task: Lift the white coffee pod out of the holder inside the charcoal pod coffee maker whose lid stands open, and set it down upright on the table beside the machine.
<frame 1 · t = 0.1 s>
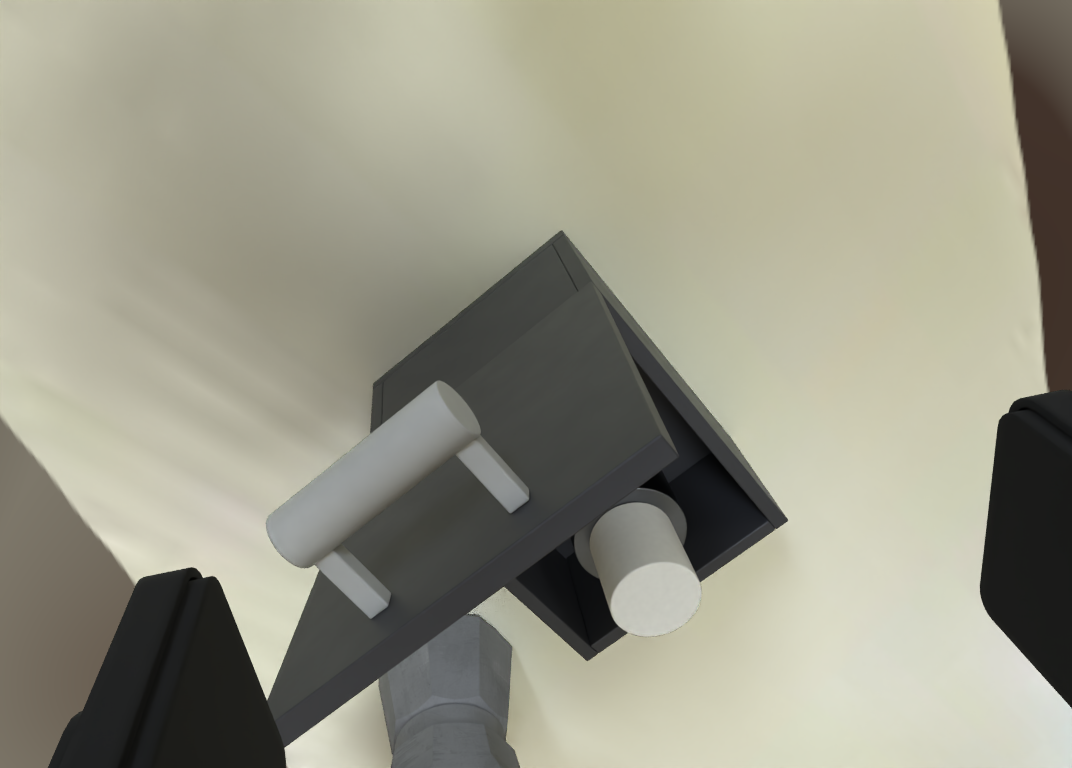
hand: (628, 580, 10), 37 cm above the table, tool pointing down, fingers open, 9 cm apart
lid: (432, 420, 30), point 18 cm above the table, hinge at 100.0°
coffee pod: (631, 537, 45), point 9 cm above the table, touching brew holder
coffeepot: (437, 672, 59), on the table
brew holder: (595, 450, 53), resting on coffee maker
coffee maker: (561, 412, 51), on the table
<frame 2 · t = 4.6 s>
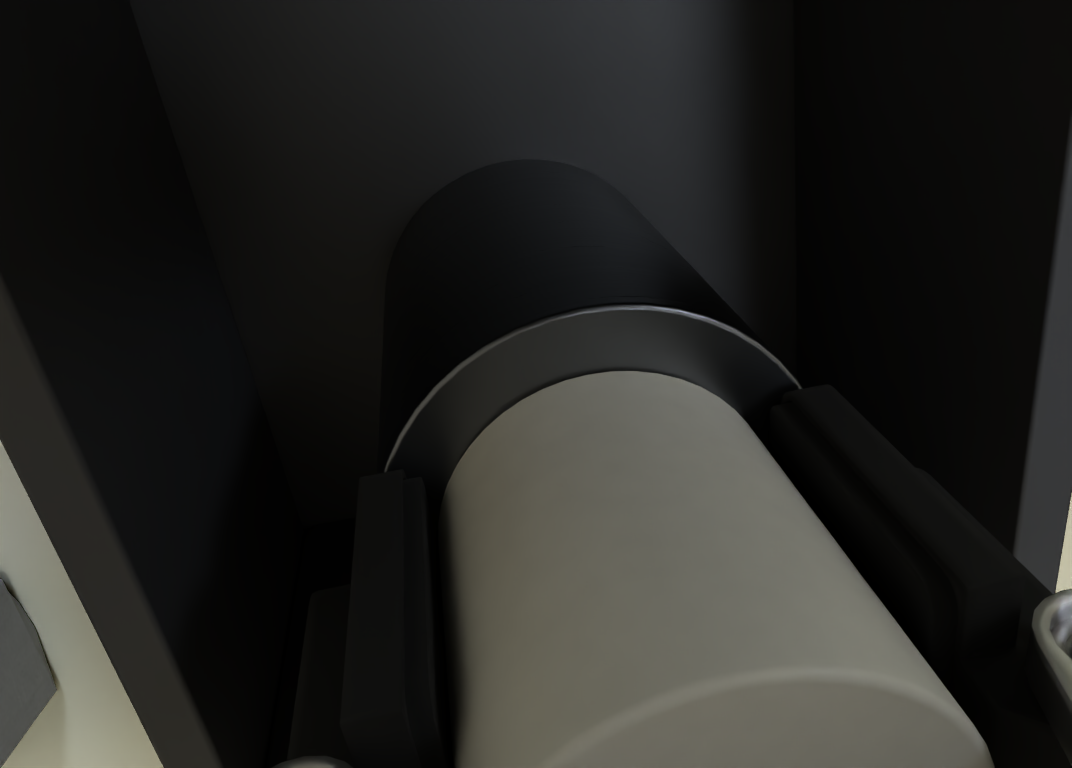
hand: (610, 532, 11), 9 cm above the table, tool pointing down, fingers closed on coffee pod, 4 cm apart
coffee pod: (607, 520, 11), point 9 cm above the table, touching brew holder, gripper
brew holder: (522, 288, 19), resting on coffee maker
coffee maker: (495, 130, 18), on the table
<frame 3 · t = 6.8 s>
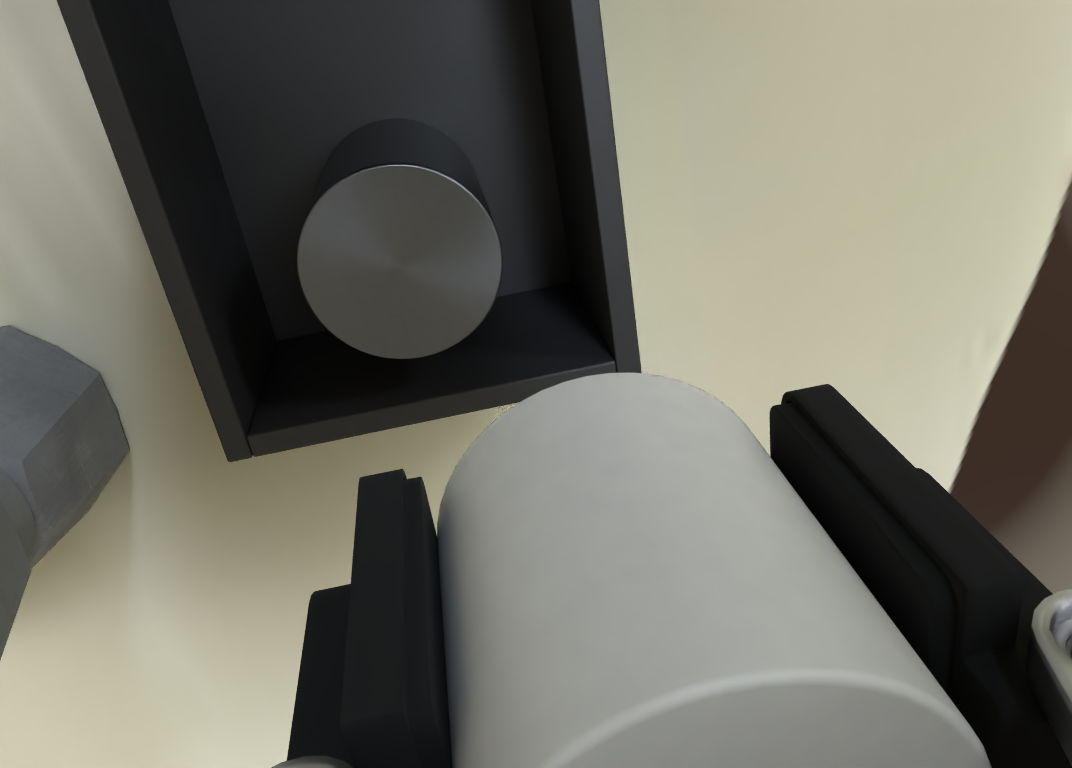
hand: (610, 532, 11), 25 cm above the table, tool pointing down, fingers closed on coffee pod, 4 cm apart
coffee pod: (605, 521, 11), point 25 cm above the table, touching gripper
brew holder: (400, 195, 34), resting on coffee maker
coffee maker: (379, 103, 32), on the table
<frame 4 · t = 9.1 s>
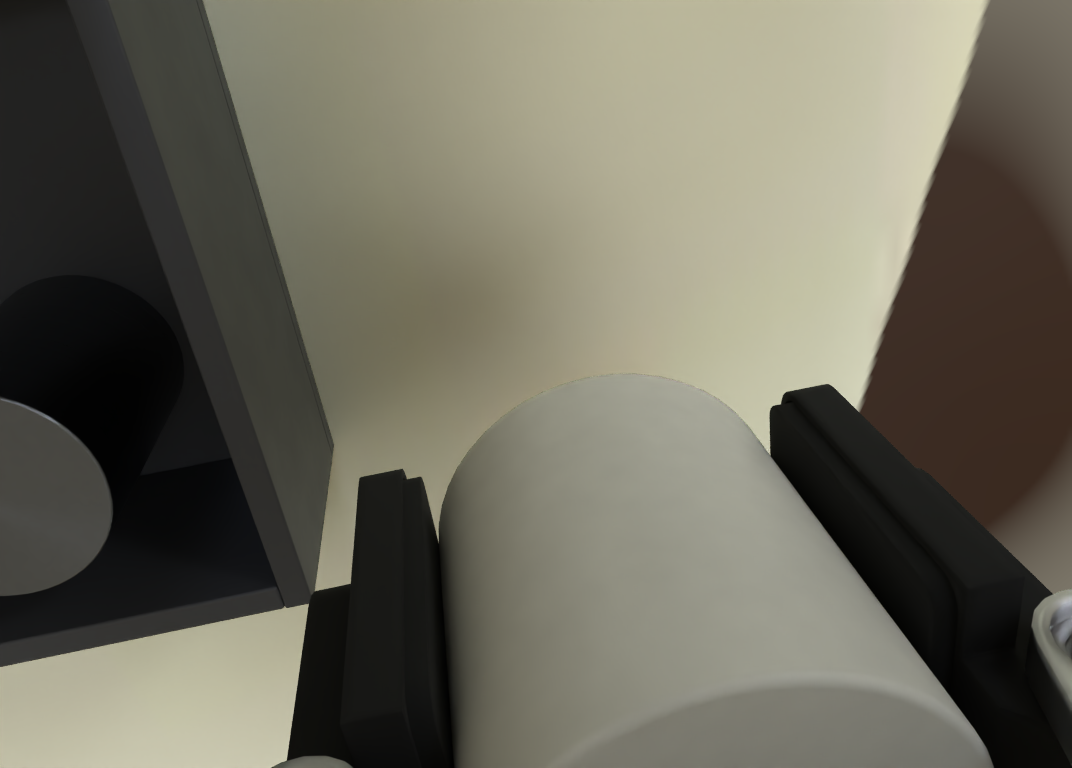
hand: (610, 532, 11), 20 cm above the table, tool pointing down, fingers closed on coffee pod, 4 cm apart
coffee pod: (607, 523, 11), point 19 cm above the table, touching gripper
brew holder: (95, 351, 29), resting on coffee maker
coffee maker: (54, 254, 28), on the table
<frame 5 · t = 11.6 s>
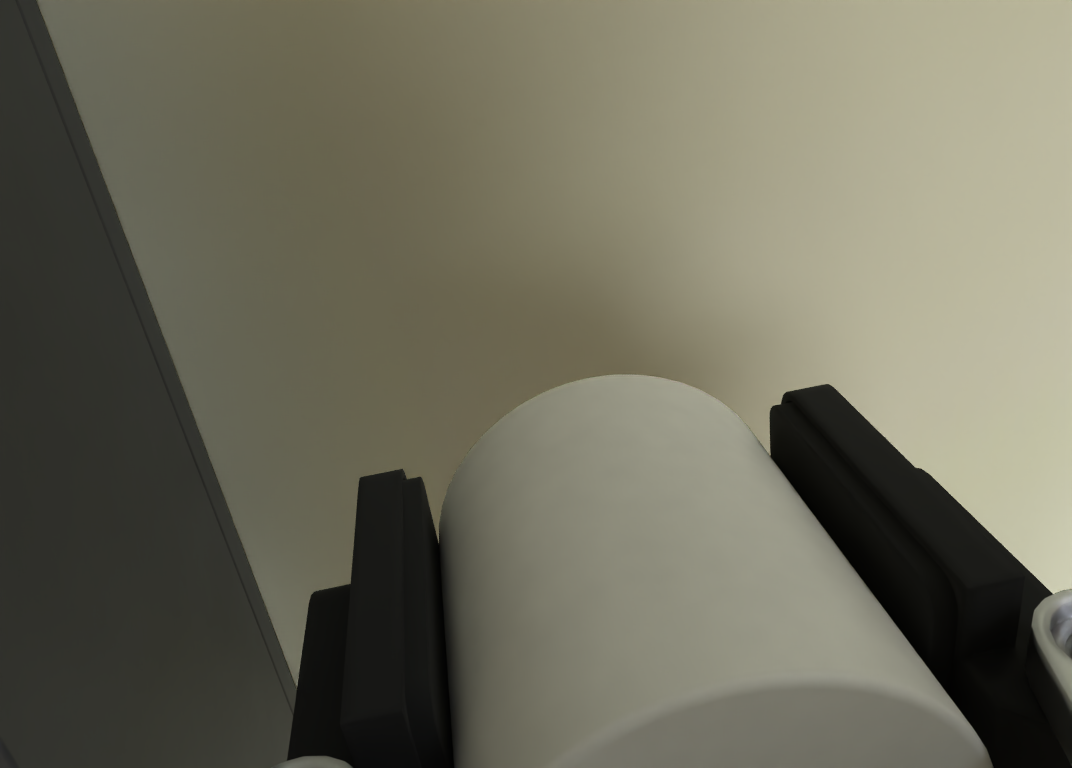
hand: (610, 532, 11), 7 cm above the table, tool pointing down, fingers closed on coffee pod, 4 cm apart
coffee pod: (607, 523, 11), point 7 cm above the table, touching gripper
when the fingers open (0 cm above the table, at t = 13.7 s): coffee pod stays where it is, on the table.
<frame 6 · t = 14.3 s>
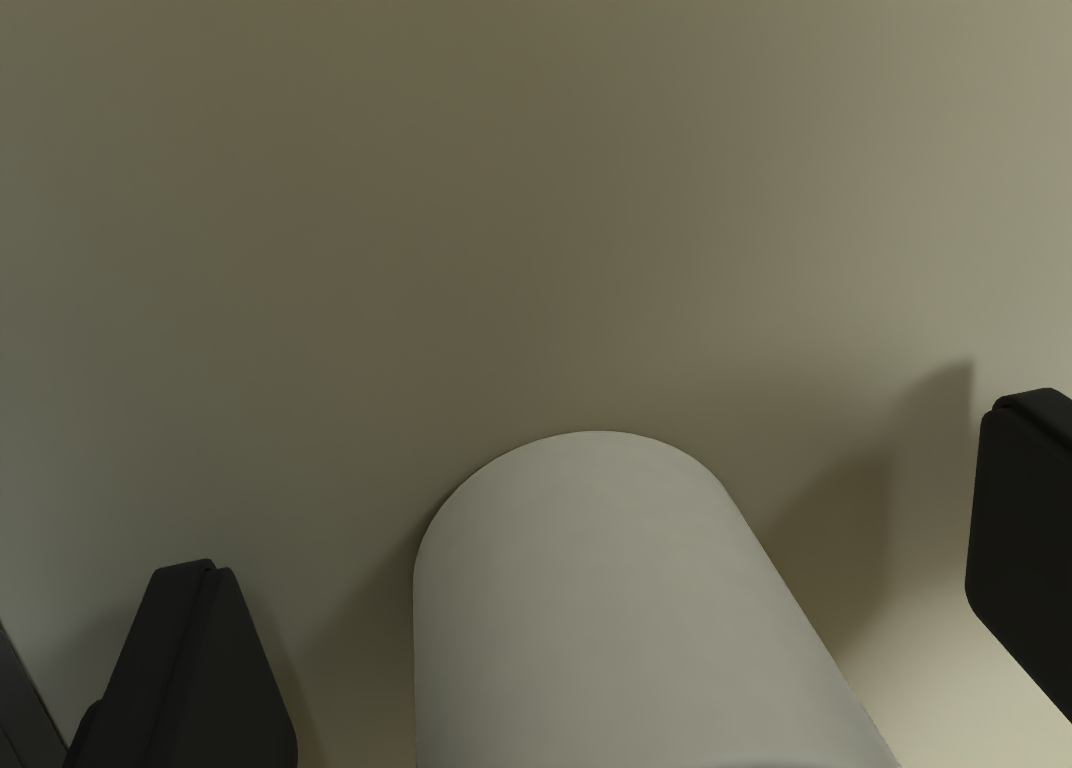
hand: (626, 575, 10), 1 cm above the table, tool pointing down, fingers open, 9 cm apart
coffee pod: (581, 575, 11), on the table
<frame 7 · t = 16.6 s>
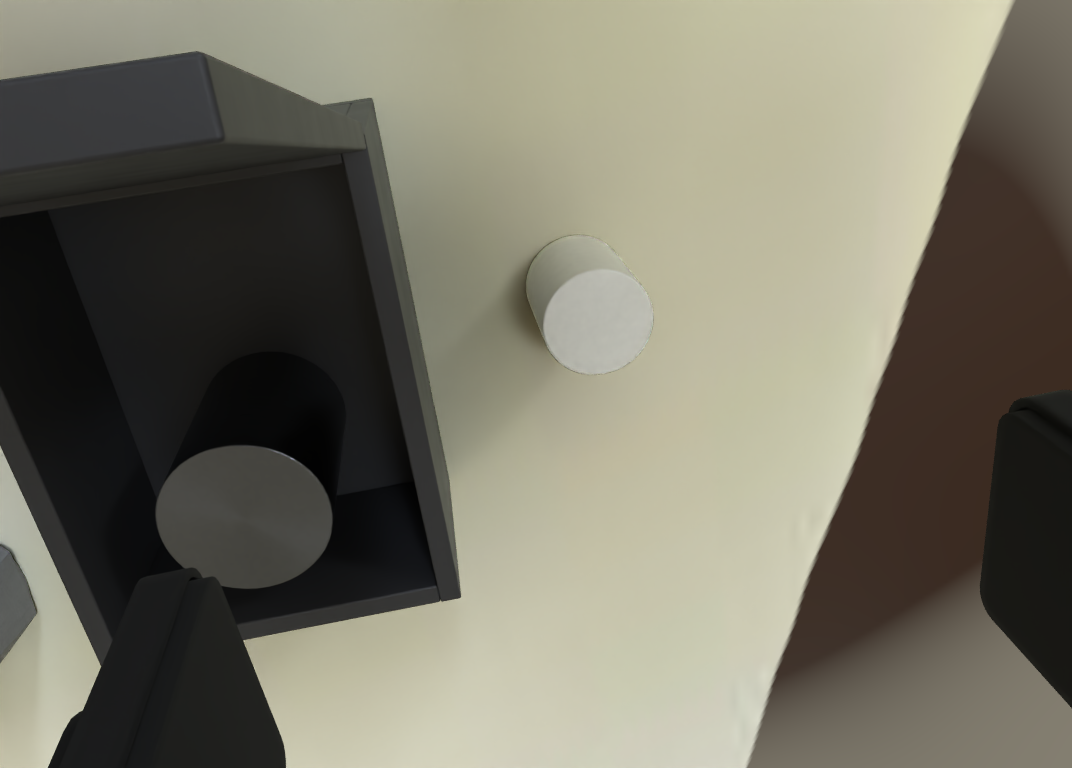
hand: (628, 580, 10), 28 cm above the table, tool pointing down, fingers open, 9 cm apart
coffee pod: (575, 283, 38), on the table
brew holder: (277, 407, 38), resting on coffee maker
coffee maker: (256, 335, 37), on the table
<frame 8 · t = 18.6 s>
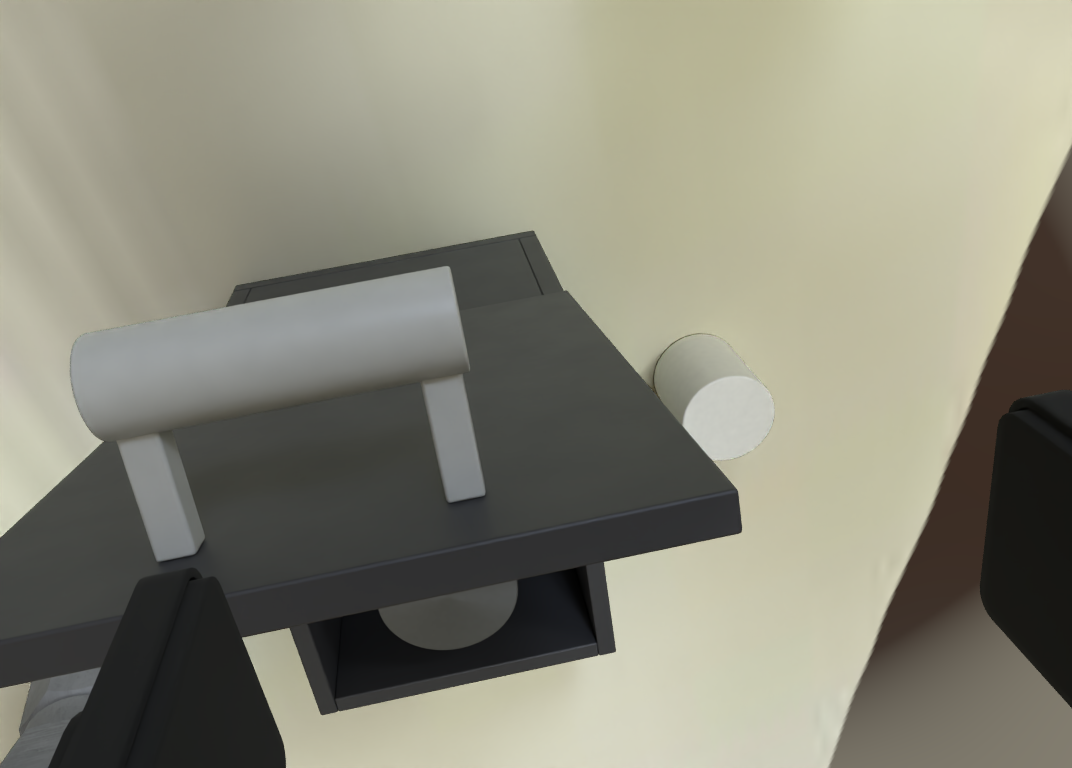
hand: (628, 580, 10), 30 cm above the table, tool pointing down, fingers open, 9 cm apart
lid: (344, 341, 22), point 18 cm above the table, hinge at 100.0°
coffee pod: (695, 373, 44), on the table
coffeepot: (124, 650, 47), on the table
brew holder: (439, 482, 45), resting on coffee maker
coffee maker: (425, 424, 43), on the table
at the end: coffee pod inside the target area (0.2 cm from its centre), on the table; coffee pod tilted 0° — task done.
